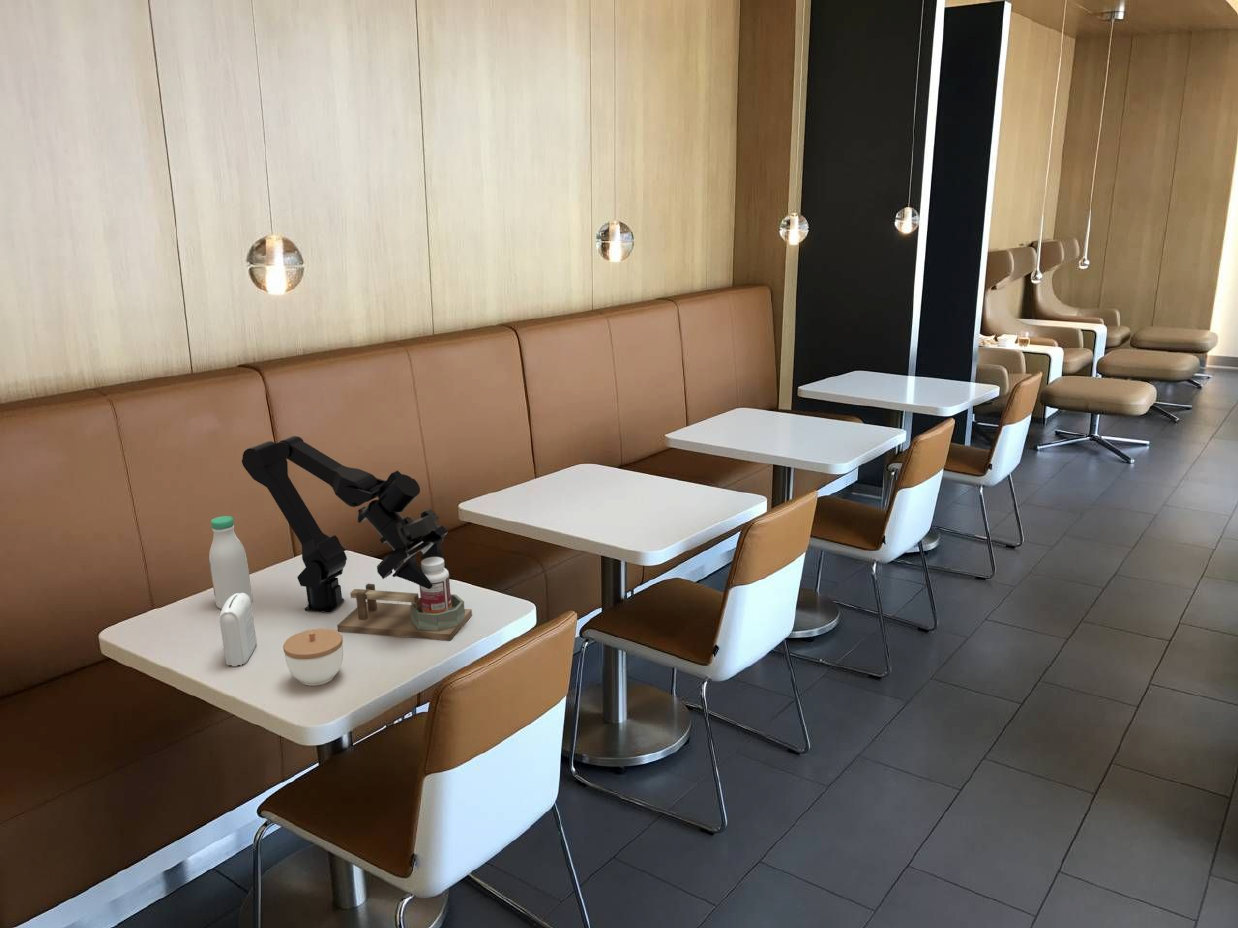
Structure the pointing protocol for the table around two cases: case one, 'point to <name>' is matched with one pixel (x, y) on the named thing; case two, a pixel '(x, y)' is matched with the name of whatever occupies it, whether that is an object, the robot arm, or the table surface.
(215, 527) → the milk bottle
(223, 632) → the photo printer
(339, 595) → the robot arm
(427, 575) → the pill bottle
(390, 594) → the catapult arm
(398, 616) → the catapult base
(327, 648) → the lidded jar
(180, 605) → the table surface
